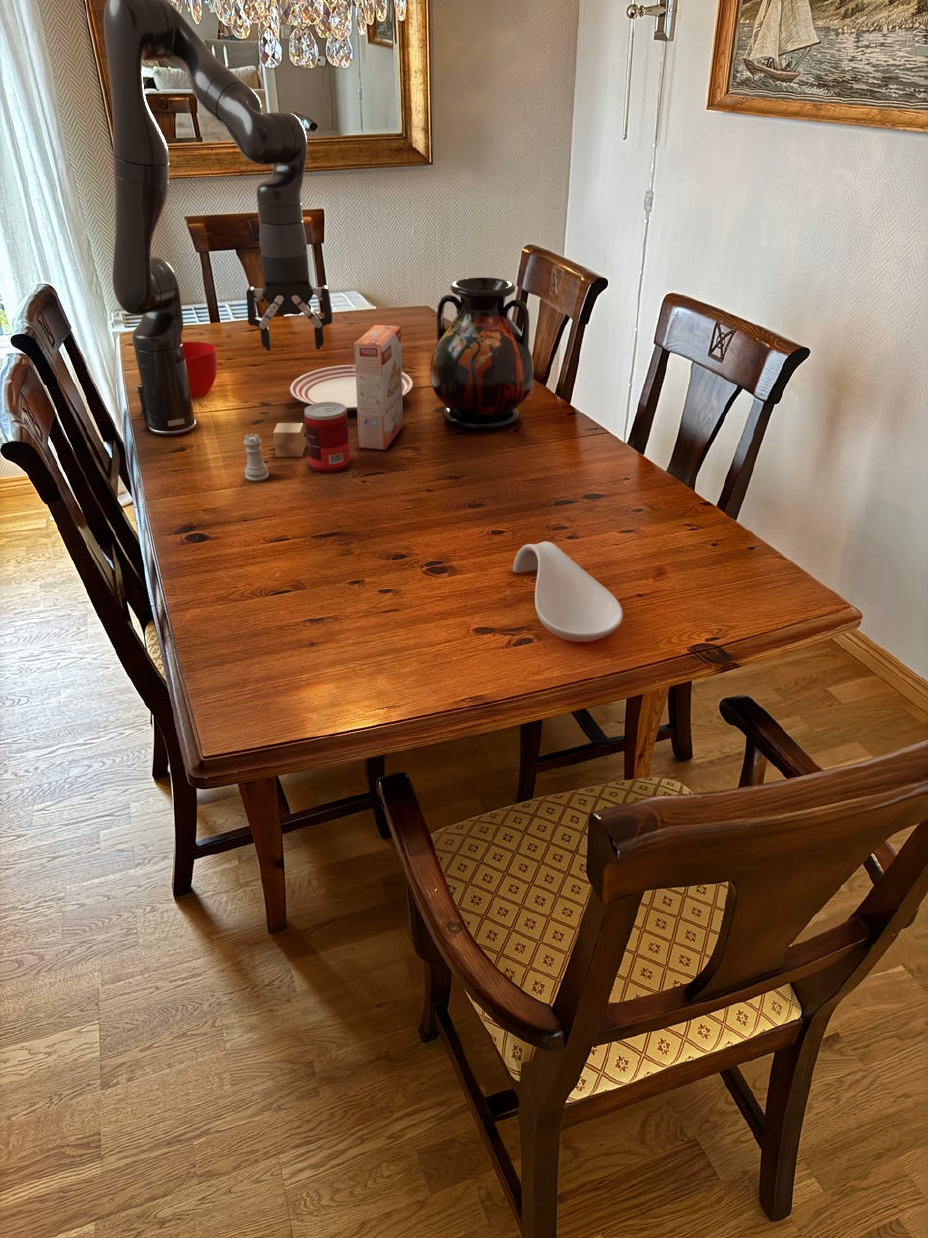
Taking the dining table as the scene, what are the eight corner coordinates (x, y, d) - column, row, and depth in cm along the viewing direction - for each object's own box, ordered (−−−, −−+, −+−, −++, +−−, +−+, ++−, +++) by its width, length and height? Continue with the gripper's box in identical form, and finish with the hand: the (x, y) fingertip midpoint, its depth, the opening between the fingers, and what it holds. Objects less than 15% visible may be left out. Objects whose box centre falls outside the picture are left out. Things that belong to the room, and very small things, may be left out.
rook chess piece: (246, 472, 168) (240, 432, 163) (270, 472, 168) (265, 431, 164) (243, 482, 164) (237, 441, 160) (268, 482, 164) (263, 440, 160)
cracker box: (387, 451, 177) (382, 345, 165) (358, 449, 178) (351, 342, 166) (405, 426, 188) (402, 325, 177) (377, 424, 189) (372, 323, 178)
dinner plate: (384, 425, 189) (383, 410, 187) (269, 410, 196) (267, 395, 194) (430, 385, 210) (430, 371, 209) (324, 373, 218) (323, 359, 216)
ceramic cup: (237, 380, 213) (231, 338, 207) (208, 404, 199) (201, 359, 193) (186, 377, 214) (179, 335, 209) (153, 401, 200) (145, 356, 195)
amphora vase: (417, 433, 185) (413, 292, 170) (447, 399, 202) (446, 268, 187) (519, 444, 180) (525, 300, 165) (540, 408, 198) (547, 275, 182)
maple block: (276, 456, 174) (273, 432, 172) (280, 446, 178) (277, 422, 176) (301, 456, 174) (299, 432, 172) (305, 446, 179) (302, 422, 176)
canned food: (357, 459, 173) (353, 404, 167) (339, 475, 167) (334, 418, 161) (321, 453, 175) (316, 399, 169) (302, 469, 169) (296, 413, 163)
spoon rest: (636, 644, 121) (642, 599, 117) (557, 662, 117) (560, 616, 113) (558, 563, 139) (561, 522, 135) (488, 577, 136) (489, 534, 132)
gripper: (328, 245, 152) (335, 341, 161) (242, 246, 151) (254, 343, 160) (326, 254, 146) (333, 354, 155) (237, 255, 145) (250, 356, 153)
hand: (293, 348), depth 157 cm, fingers open, 8 cm apart
